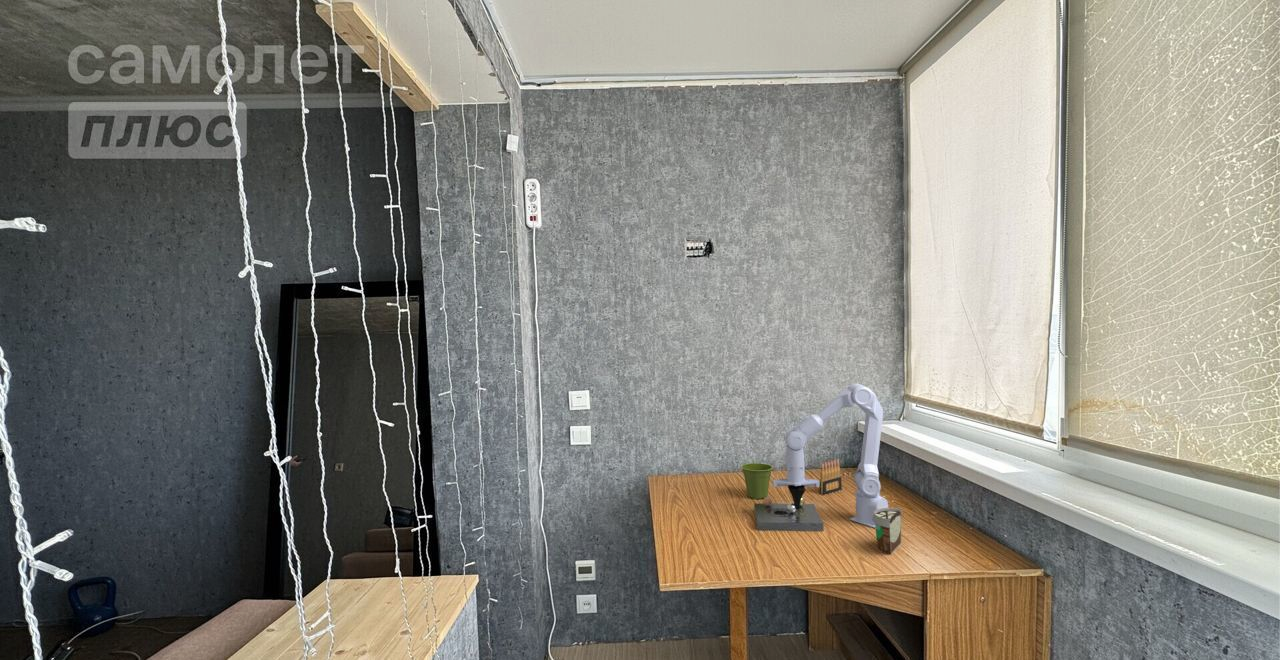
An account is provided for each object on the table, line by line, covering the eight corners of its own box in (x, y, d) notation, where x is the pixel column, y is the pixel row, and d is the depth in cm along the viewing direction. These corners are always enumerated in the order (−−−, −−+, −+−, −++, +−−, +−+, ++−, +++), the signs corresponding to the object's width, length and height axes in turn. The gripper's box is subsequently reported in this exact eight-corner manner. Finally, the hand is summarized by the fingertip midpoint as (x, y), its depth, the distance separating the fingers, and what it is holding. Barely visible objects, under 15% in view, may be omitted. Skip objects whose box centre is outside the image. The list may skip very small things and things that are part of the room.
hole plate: (813, 511, 202) (813, 503, 202) (823, 531, 183) (823, 523, 183) (754, 510, 205) (754, 503, 205) (758, 530, 186) (757, 522, 186)
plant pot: (777, 501, 214) (776, 470, 214) (744, 501, 215) (743, 471, 214) (770, 491, 226) (769, 462, 226) (739, 492, 226) (738, 463, 226)
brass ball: (807, 506, 200) (807, 495, 200) (799, 508, 198) (799, 497, 198) (799, 503, 203) (798, 493, 203) (791, 505, 201) (791, 495, 201)
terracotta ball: (774, 506, 201) (774, 497, 201) (767, 507, 200) (767, 499, 200) (768, 503, 204) (767, 495, 204) (761, 505, 202) (761, 496, 202)
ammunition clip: (823, 495, 219) (822, 463, 219) (819, 494, 221) (818, 462, 220) (842, 489, 225) (841, 458, 225) (837, 488, 227) (837, 457, 226)
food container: (880, 537, 176) (880, 504, 176) (902, 542, 173) (901, 508, 172) (866, 551, 167) (865, 516, 167) (889, 556, 163) (888, 520, 163)
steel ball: (799, 511, 193) (797, 501, 193) (793, 515, 192) (790, 505, 192) (792, 510, 196) (790, 501, 196) (786, 514, 194) (783, 504, 194)
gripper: (774, 470, 190) (775, 512, 191) (820, 470, 188) (821, 512, 189) (772, 464, 197) (773, 505, 198) (816, 464, 195) (818, 505, 196)
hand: (796, 508), depth 194 cm, fingers closed, pressing on steel ball
